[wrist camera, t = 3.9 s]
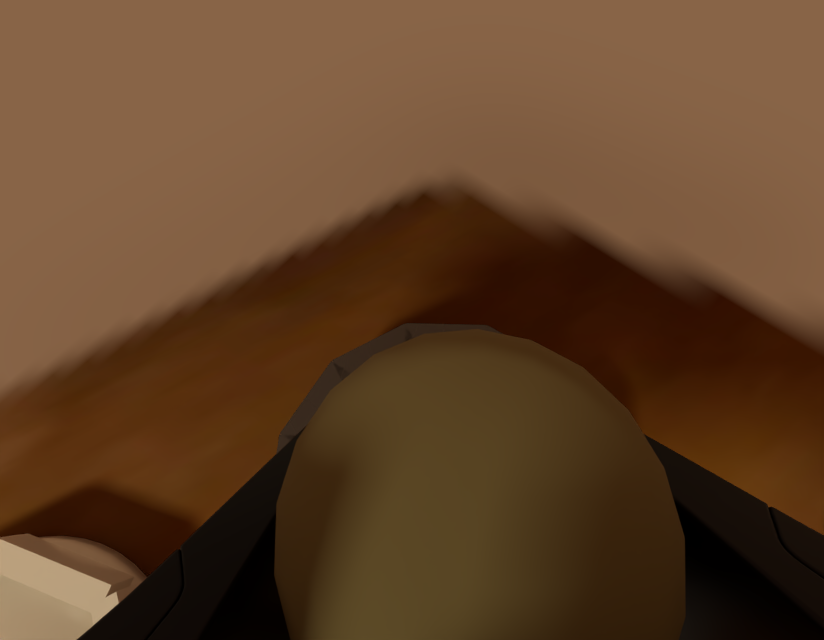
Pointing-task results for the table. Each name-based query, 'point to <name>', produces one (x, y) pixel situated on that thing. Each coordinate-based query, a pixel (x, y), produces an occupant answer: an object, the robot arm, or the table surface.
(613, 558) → the cork
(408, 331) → the dark grey ring
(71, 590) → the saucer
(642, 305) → the table surface
